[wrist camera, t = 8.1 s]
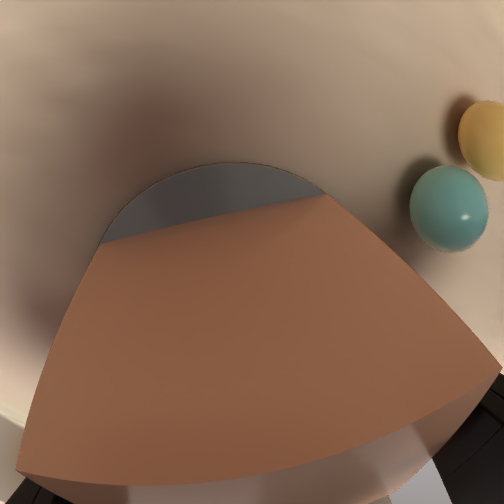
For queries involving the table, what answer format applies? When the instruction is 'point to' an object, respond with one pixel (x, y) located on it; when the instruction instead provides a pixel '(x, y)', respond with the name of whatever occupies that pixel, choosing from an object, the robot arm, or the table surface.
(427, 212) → the marble teal
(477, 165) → the marble amber
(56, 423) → the peach beveled cube
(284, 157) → the table surface
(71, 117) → the table surface
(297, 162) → the table surface
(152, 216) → the coaster
